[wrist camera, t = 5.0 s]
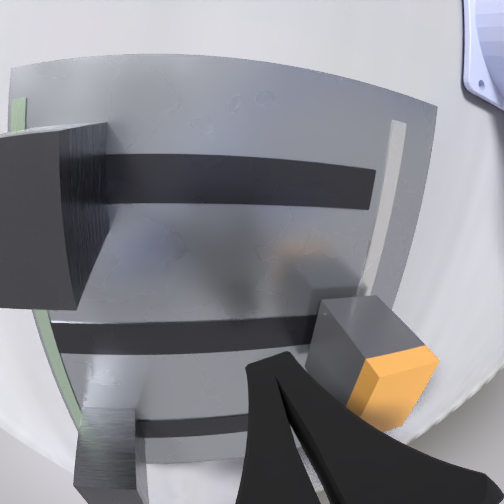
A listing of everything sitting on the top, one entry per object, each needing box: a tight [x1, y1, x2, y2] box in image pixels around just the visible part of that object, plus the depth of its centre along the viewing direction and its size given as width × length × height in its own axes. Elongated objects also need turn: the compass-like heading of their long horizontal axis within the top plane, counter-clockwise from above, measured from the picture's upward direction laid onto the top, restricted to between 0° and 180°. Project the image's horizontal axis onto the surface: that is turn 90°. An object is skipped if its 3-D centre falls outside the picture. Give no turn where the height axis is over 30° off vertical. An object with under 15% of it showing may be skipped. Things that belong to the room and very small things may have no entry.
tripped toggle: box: [305, 295, 440, 432], centre depth 10 cm, size 2×3×4 cm
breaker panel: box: [0, 54, 437, 504], centre depth 10 cm, size 14×18×5 cm
